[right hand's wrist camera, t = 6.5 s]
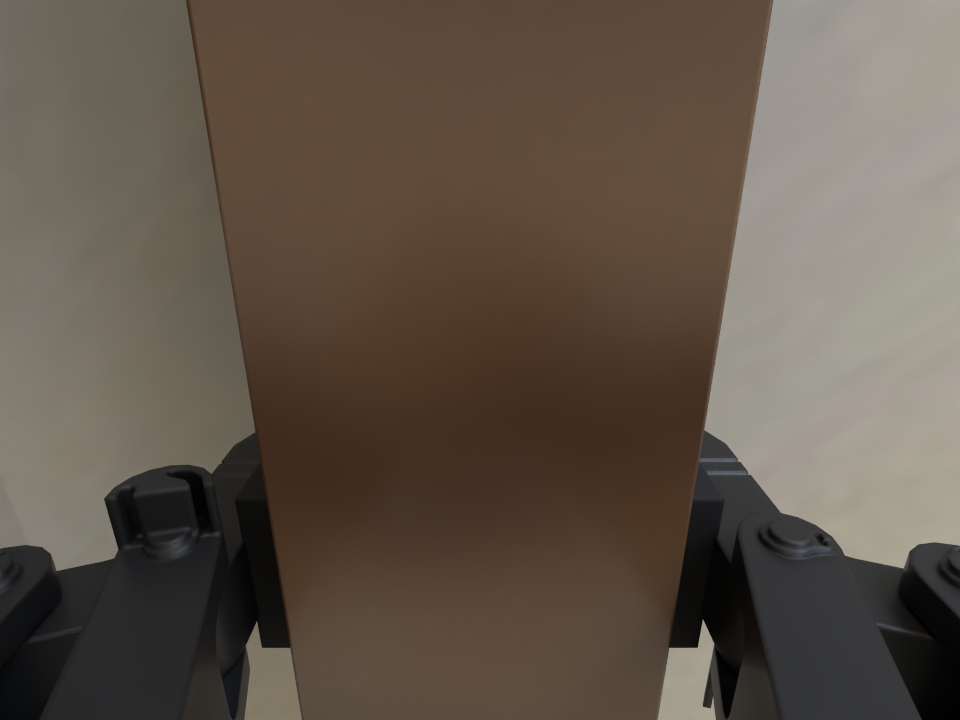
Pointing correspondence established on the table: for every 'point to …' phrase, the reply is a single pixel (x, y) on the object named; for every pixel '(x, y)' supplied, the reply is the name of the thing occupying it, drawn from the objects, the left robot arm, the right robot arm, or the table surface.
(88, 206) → the table surface
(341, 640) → the bar
